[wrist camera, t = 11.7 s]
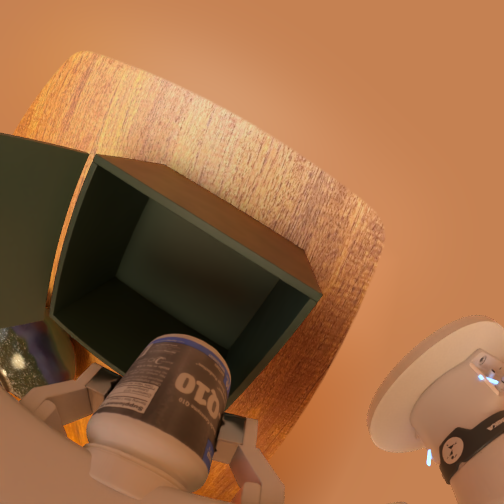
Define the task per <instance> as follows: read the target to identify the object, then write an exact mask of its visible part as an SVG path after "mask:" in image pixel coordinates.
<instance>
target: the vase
mask: <svg viewBox="0 0 504 504" xmlns="http://www.w3.org/2000/svg"><path fill="white" fill-rule="evenodd" d="M49 310H50V309H49V308H48V307H47V306H46V307H45V314H44V320H42V321H37V322H32V323H27V324H22V325H17V326H12V327H7V328H2V329H0V385H1V386H2V387H3V388H4V389H5V390H6V391H7V392H11V393H12V394H14V395H15V396H17V397H18V398H20V399H22V398H23V397H24V396H25V395H26V394H27V393H28V392H29V391H30V390H31V389H33V388H35V387H40V386H45V385H50V384H55V383H60V382H64V381H69V380H76V375H77V357H76V352H75V348H74V345H73V342H72V340H71V338H70V335H69V334H68V333H67V332H66V331H65V330H63V329H62V328H61V327H60V326H59V325H58V324H57V323H56V322H55V321H54V320H53V319H52V318H51V317H50V316H49Z"/></svg>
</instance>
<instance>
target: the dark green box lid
mask: <svg viewBox="0 0 504 504" xmlns="http://www.w3.org/2000/svg"><path fill="white" fill-rule="evenodd" d="M88 156H89V154H88V153H87V152H84V151H80V150H76V149H72V148H68V147H64V146H59V145H55V144H51V143H47V142H42V141H38V140H33V139H29V138H24V137H19V136H14V135H9V134H4V133H0V329H2V328H7V327H12V326H17V325H22V324H27V323H32V322H37V321H42V320H44V314H45V307H46V300H47V293H48V287H49V282H50V277H51V272H52V267H53V262H54V258H55V254H56V250H57V246H58V242H59V238H60V234H61V231H62V227H63V224H64V221H65V217H66V214H67V211H68V208H69V205H70V202H71V199H72V196H73V194H74V191H75V188H76V185H77V183H78V180H79V178H80V175H81V173H82V170H83V168H84V165H85V163H86V161H87V158H88Z"/></svg>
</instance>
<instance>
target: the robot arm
mask: <svg viewBox="0 0 504 504" xmlns="http://www.w3.org/2000/svg"><path fill="white" fill-rule="evenodd" d="M121 379H122V376H120V375H118V374H116V373H114V372H112V371H110V370H108V369H106V368H104V367H102V366H100V365H99V364H97V363H93V364H91V365H90V366H89V367H88V368H87V369H86V370H85V371H84V372H83V373H82V374H81V376H80V377H79V378H78V379H77V380H76V381H75V380H69V381H64V382H60V383H55V384H50V385H45V386H40V387H35V388H33V389H31V390H30V391H29V392H28V393H27V394H26V395H25V396H24V397H23V398H22V399H21V400H20V401H19V402H18V401H17V400H16V399H15V398H14V397H13V396H12V395H10V394H9V393H8V392H7V391H6V390H5V389H4V388H3V387H2V386H1V385H0V504H284V490H285V486H284V484H283V483H282V482H281V480H280V479H279V477H278V476H277V475H276V473H275V472H274V470H273V469H272V467H271V466H270V465H269V463H268V462H267V460H266V459H265V457H264V456H263V454H262V453H261V451H260V450H259V449H258V448H256V440H257V430H258V420H255V419H251V418H246V417H242V416H238V415H234V414H229V413H225V412H224V413H223V416H222V420H221V424H220V429H219V432H218V436H217V440H216V444H215V450H214V455H213V458H212V460H215V461H218V462H222V463H226V464H229V466H230V468H231V470H232V472H233V474H234V477H235V479H236V481H237V483H238V485H239V487H240V490H239V491H238V493H237V494H236V495H235V497H234V498H233V499H232V501H231V502H226V501H221V500H216V499H212V498H208V497H204V496H200V495H196V494H192V493H189V492H185V491H182V490H179V489H176V488H173V487H169V486H159V487H157V488H155V489H154V490H153V491H151V492H150V493H148V494H147V495H145V496H144V498H143V499H141V500H137V499H134V498H131V497H129V496H127V495H124V494H122V493H120V492H118V491H116V490H114V489H112V488H110V487H108V486H106V485H104V484H102V483H100V482H98V481H97V480H95V479H94V478H92V477H91V476H90V475H89V472H90V470H91V458H92V455H91V453H90V452H89V451H88V450H87V449H85V448H83V447H82V446H80V445H78V444H77V443H75V442H73V441H72V440H70V439H69V438H67V434H66V432H65V429H64V427H63V425H66V424H69V423H71V422H74V421H76V420H79V419H81V418H83V417H86V416H88V415H91V414H92V413H93V414H94V413H95V412H96V410H97V409H98V408H99V407H100V405H101V404H102V403H103V401H104V400H105V399H106V398H107V396H108V395H109V394H110V393H111V391H112V390H113V389H114V388H115V386H116V385H117V384H118V382H119V381H120V380H121ZM410 422H411V425H412V426H413V427H414V429H415V438H416V440H417V441H422V442H423V444H424V446H425V447H426V449H427V451H428V457H427V464H428V466H430V462H431V457H432V459H433V460H434V462H435V463H436V464H440V470H441V472H442V476H443V478H444V479H445V481H446V483H447V484H450V485H451V487H452V490H453V492H454V494H455V497H456V500H457V502H458V504H504V362H503V361H501V360H500V359H498V358H496V357H495V356H493V355H491V354H489V353H488V352H486V351H484V350H483V349H481V348H479V349H477V350H476V351H474V352H473V353H472V354H471V355H470V356H469V357H468V358H467V359H466V360H465V361H464V362H462V363H461V364H459V365H457V366H456V367H454V368H452V369H450V370H449V371H447V372H446V373H445V374H443V375H442V376H441V377H439V378H438V379H437V380H436V381H435V382H434V383H433V384H432V385H431V386H430V387H429V388H428V389H427V390H426V391H425V392H424V393H423V394H422V396H421V397H420V398H419V400H418V401H417V402H416V404H415V406H414V408H413V410H412V412H411V416H410ZM391 504H407V503H405V502H396V503H391Z"/></svg>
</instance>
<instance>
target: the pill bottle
mask: <svg viewBox="0 0 504 504" xmlns="http://www.w3.org/2000/svg"><path fill="white" fill-rule="evenodd" d="M230 385H231V375H230V371H229V368H228V366H227V364H226V362H225V360H224V359H223V357H222V356H221V355H220V354H219V352H218V351H217V350H216V349H215V348H213V347H212V346H210V345H209V344H207V343H206V342H204V341H202V340H200V339H198V338H195V337H192V336H189V335H185V334H167V335H163V336H160V337H157V338H156V339H154V340H153V341H151V342H150V343H149V344H148V346H147V347H146V348H145V349H144V350H143V352H142V353H141V354H140V356H139V357H138V358H137V359H136V361H135V362H134V363H133V364H132V366H131V367H130V368H129V370H128V371H127V372H126V374H125V375H124V376H123V377H122V379H121V380H120V381H119V382H118V384H117V385H116V386H115V388H114V389H113V390H112V391H111V393H110V394H109V395H108V396H107V398H106V399H105V400H104V401H103V403H102V404H101V405H100V407H99V408H98V409H97V410H96V412H95V413H94V414H93V415H92V417H91V418H90V420H89V422H88V425H87V438H88V441H89V443H88V444H85V445H84V446H83V448H85V449H87V450H88V451H89V452H90V453H91V455H92V458H91V470H90V472H89V475H90V476H91V477H92V478H94V479H95V480H97V481H98V482H100V483H102V484H104V485H106V486H108V487H110V488H112V489H114V490H116V491H118V492H120V493H122V494H124V495H127V496H129V497H131V498H134V499H137V500H141V499H143V498H144V496H145V495H147V494H148V493H150V492H151V491H153V490H154V489H155V488H157V487H159V486H169V487H173V488H176V489H179V490H182V491H185V492H189V493H192V492H194V491H196V490H198V489H199V488H201V487H202V486H203V484H204V483H205V481H206V479H207V477H208V474H209V470H210V466H211V462H212V458H213V455H214V450H215V444H216V440H217V436H218V432H219V429H220V424H221V420H222V416H223V413H224V410H225V407H226V403H227V399H228V395H229V391H230Z"/></svg>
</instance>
